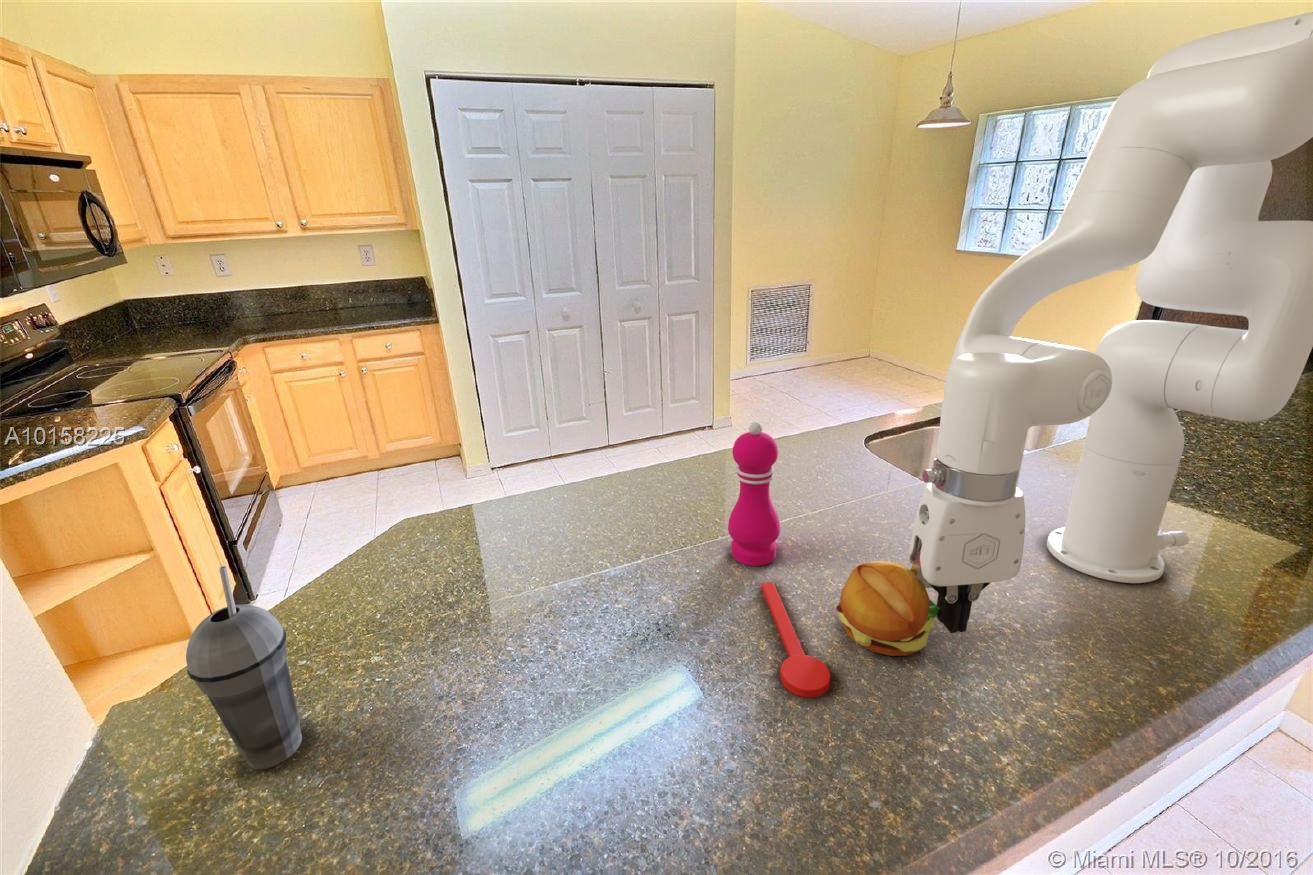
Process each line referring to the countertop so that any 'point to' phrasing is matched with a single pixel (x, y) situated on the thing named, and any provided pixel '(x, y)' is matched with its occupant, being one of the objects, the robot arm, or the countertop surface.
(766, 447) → the pepper mill
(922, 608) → the cheeseburger
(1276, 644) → the countertop surface
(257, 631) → the beverage cup
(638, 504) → the countertop surface
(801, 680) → the spoon
